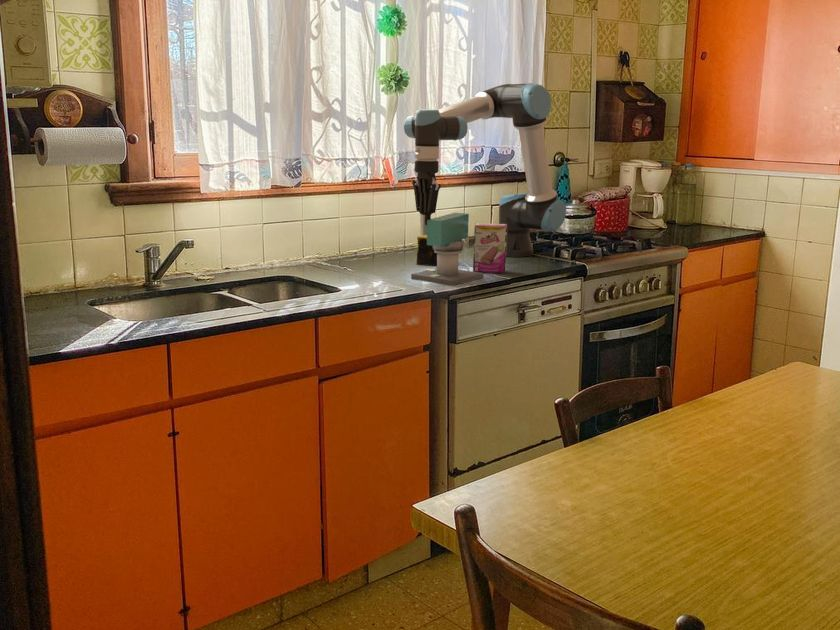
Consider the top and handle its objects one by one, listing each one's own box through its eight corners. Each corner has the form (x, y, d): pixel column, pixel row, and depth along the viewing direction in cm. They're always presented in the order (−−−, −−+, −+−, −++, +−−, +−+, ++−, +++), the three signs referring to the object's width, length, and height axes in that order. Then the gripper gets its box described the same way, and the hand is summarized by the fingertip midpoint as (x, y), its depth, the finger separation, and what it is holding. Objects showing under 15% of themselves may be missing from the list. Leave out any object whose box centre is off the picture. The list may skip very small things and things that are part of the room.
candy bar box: (472, 272, 288) (474, 224, 284) (473, 270, 292) (474, 222, 288) (505, 273, 286) (507, 225, 282) (505, 270, 291) (507, 223, 287)
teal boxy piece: (419, 252, 269) (420, 219, 266) (447, 243, 287) (448, 212, 285) (448, 254, 265) (448, 221, 262) (474, 245, 283) (475, 214, 280)
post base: (442, 271, 290) (443, 243, 287) (483, 277, 279) (484, 249, 277) (411, 278, 277) (411, 249, 275) (452, 285, 267) (453, 256, 264)
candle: (416, 264, 301) (416, 237, 299) (426, 260, 310) (426, 233, 308) (442, 267, 298) (443, 238, 295) (452, 262, 307) (452, 235, 304)
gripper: (405, 158, 268) (404, 232, 273) (428, 161, 257) (426, 238, 263) (425, 158, 272) (424, 231, 277) (448, 161, 261) (446, 236, 267)
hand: (425, 234), depth 270 cm, fingers closed
